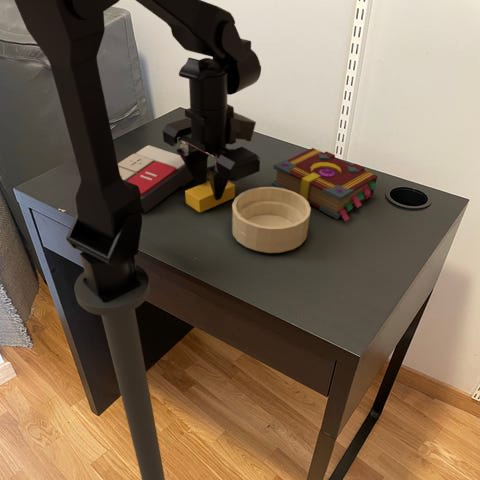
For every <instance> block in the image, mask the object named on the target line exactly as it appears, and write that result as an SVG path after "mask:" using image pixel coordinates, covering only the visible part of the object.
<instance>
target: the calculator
mask: <svg viewBox="0 0 480 480" xmlns="http://www.w3.org/2000/svg"><path fill="white" fill-rule="evenodd" d="M118 167H119V172H120V175H121V178H122V179H123V180H125V181H127V182H130V183H132V184H135V185H137V186H138V187H139V190H140V193H141V204H142V207H143V209H144V211H145V212H144V213H143V214H146V213H147V212H149V211H150V210H151V209H153V208H154V207H155V206H156V205H158V204H159V203H161V202H162V201H164V200H165V198H167V197H168V196H170V195H171V194H172V193H173V192H174V191H176V190H177V189H178V188H180V187H185V186H186V185H188V184H189V183H190V182H192V181H193V180H194V178H193V176H192V175H191V173H190V171H189V169H188V168H187V166H186V165H185V163H184V161H183V160H182V158H181V156H180V155H179V154H178V153H173V152H171V151H167V150H164V149H162V148H158V147H155V146H152V145H149V144H148V145H145V146H144V147H143V148H141V149H140V150H138V151H136V152H135V153H132V154H131V155H129V156H128V157H126V158H124V159H123V160H121V161H120V162H118Z"/></svg>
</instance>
